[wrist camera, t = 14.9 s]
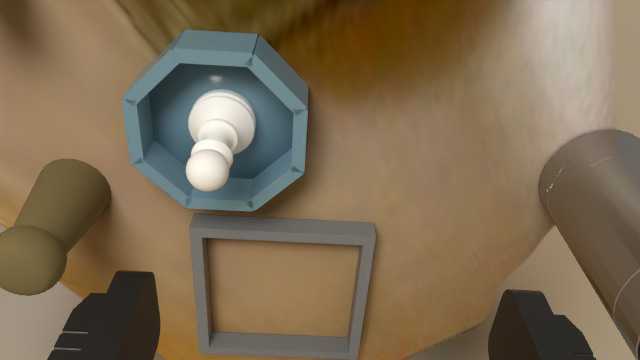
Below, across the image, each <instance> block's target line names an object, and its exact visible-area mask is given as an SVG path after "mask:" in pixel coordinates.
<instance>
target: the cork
mask: <svg viewBox="0 0 640 360" xmlns="http://www.w3.org/2000/svg"><path fill="white" fill-rule="evenodd" d="M110 199H111V191H110V186H109V184H108V182H107V180H106V179H105V177H104V176H103V175H102V174H101V173H100V172H99V171H98V170H97V169H95V168H94V167H92V166H91V165H89V164H87V163H85V162H81V161H78V160H75V159H60V160H56V161H53V162H51V163H49V164H48V165H46V166H45V167H44V169H43V170H42V171H41V173H40V175H39V177H38V179H37V181H36V182H35V184H34V186H33V188H32V190H31V192H30V194H29V196H28V198H27V200H26V202H25V204H24V206H23V208H22V210H21V212H20V214H19V216H18V218H17V220H16V222H15V224H14V226H13V227H10V228H9V229H7V230H5V231H4V232H2V233H1V234H0V287H1V288H3V289H5V290H7V291H9V292H11V293H15V294H19V295H29V296H30V295H36V294H40V293H42V292H45V291H47V290H48V289H50V288H52V287H53V286H54V285H55V284H56V283H57V282H58V281H59V279H60V278H61V277H62V275H63V273H64V271H65V267H66V262H67V255H66V254H67V253H68V252H69V251H70V250H71V248H72V247H73V246H74V245H75V244H76V243H77V241H78V240H79V239H80V238H81V237H82V236H83V234H84V233H85V232H86V231H87V230H88V229H89V227H90V226H91V225H92V224H93V223H94V222H95V220H96V219H97V218H98V217H99V216H100V215H101V213H102V212H103V211H104V210H105V209H106V207H107V206H108V205H109V203H110Z"/></svg>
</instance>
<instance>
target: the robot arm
mask: <svg viewBox="0 0 640 360" xmlns="http://www.w3.org/2000/svg"><path fill="white" fill-rule="evenodd" d="M539 194H540V197H541V200H542V203H543V204H544V206H545V208H546V209H547V211H548V213H549V214H550V216H551V218H552V219H553V221H554V223H555V224H556V226H557V228H558V230H559V231H560V233H561V235H562V236H563V238H564V240H565V241H566V243H567V244H568V246H569V248H570V250H571V251H572V253H573V255H574V256H575V258H576V260H577V261H578V263H579V265H580V266H581V268H582V270H583V271H584V273H585V275H586V276H587V278H588V280H589V282H590V283H591V285H592V286H593V288H594V290H595V292H596V293H597V295H598V296H599V298H600V300H601V301H602V303H603V305H604V307H605V308H606V310H607V312H608V313H609V315H610V317H611V318H612V320H613V322H614V323H615V325H616V327H617V328H618V330H619V331H620V333H621V335H622V336H623V338H624V339H625V341H626V343H627V345H628V346H629V348H630V350H631V351H632V353H633V355H634V356H635V358H636V360H640V139H639V138H638V137H636V136H634V135H633V134H631V133H628V132H624V131H621V130H601V131H594V132H591V133H588V134H584V135H582V136H580V137H578V138H576V139H573V140H571V141H570V142H569V143H567V144H566V145H564V146H563V147H561V148H560V149H559V150H558V151H557V152H556V153H555V154H554V155H553V156H552V157H551V159H550V160H549V161H548V163H547V164H546V165H545V168H544V170H543V172H542V174H541V178H540V182H539ZM159 335H160V314H159V306H158V299H157V291H156V284H155V277H154V274H153V272H142V271H120V270H119V271H117V272H116V274H115V276H114V278H113V280H112V282H111V284H110V286H109V289H108V291H107V293H91V294H89V295H88V296H87V297H86V298H85V299H84V300H83V301H82V302H81V303H80V304H79V305H78V306H76V307H75V308H74V309H73V311H72V312H71V314H70V316H69V318H68V320H67V322H66V324H65V326H64V328H63V333H62V334H60V336H59V338H58V340H57V342H56V344H55V346H54V350H53V351H52V352H51V354H50V356H49V357H48V359H47V360H153V359H154V356H155V353H156V349H157V346H158V341H159ZM488 352H489V359H490V360H596V358H594V357H593V352H592V350H591V349H590V347H589V345H588V343H587V341H586V339H585V337H584V335H583V334H582V332H581V331H580V330H579V329H578V328H576V326H575V325H574V324H573V323H572V322H571V321H570V320H569V319H568V318H567V317H566V316H565V315H554V314H553V312H552V311H551V308H550V306H549V304H548V302H547V300H546V298H545V296H544V294H543V293H542V292H540V291H530V290H506V291H505V292H504V293H503V295H502V298H501V301H500V305H499V307H498V311H497V314H496V317H495V319H494V323H493V325H492V329H491V331H490V334H489V341H488Z"/></svg>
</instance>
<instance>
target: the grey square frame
mask: <svg viewBox="0 0 640 360" xmlns="http://www.w3.org/2000/svg"><path fill="white" fill-rule="evenodd" d="M189 229H190V241H191V253H192V266H193V278H194V290H195V303H196V315H197V327H198V340H199V352H200V354H224V355H248V356H272V357H297V358H321V359H346V360H357V359H358V353H359V346H360V339H361V333H362V326H363V319H364V313H365V306H366V300H367V293H368V286H369V280H370V273H371V266H372V260H373V253H374V247H375V240H376V234H375V226H374V223H366V222H346V221H326V220H306V219H286V218H266V217H246V216H226V215H206V214H194V215H193V218H192V221H191V224H190V228H189ZM207 238H222V239H243V240H263V241H284V242H304V243H325V244H346V245H360V248H359V255H358V263H357V270H356V278H355V286H354V293H353V301H352V308H351V316H350V323H349V331H348V338H347V337H323V336H300V335H276V334H253V333H229V332H212V317H211V300H210V284H209V267H208V251H207Z"/></svg>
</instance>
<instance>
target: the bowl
mask: <svg viewBox="0 0 640 360" xmlns="http://www.w3.org/2000/svg"><path fill="white" fill-rule="evenodd" d="M218 89H224V90H231V91H233V92H236V93H239V94H240V95H241V96H243V97H244V98H246V99H247V100H248V102H249V103H250V104H251V105H252V107H253V109H254V111H255V115H256V129H255V134H254V137H253V139H252V142H251V143H250V144H249V145H248V147H247V148H246V149H244V150H243V151H241V152H240V153H237V154H234V155H233V163H232V165H231V167H230V168H229V176H228V179H227V181H226V182H225V184H224V185H223V186H222V187H220V188H219V189H217V190H214V191H208V192H207V191H201V190H198V189H197V188H195V187H194V186H193V185H192V184H190V182H189V180H188V179H187V175H186V165H187V162H188V160H189V158H190V157H191V151H192V148H193V147H194V145H195V144H196V142H195V141H194V140H193V138H192V136H191V134H190V131H189V127H188V118H189V115H190V113H191V110H192V108H193V106H194V104H195V102H196V101H197V100H198V98H199V97H201V96H202V95H203V94H205V93H207V92H209V91H212V90H218ZM308 95H309V87H308V85H307V84H306V83H305V82H304V81H303V80H302V78H301V77H300V76H299V75H298V74H297V73H296V72H295V71H294V70H293V69H292V68H291V67H290V66H289V65H288V64H287V63H286V62H285V61H284V60H283V59H282V58H281V56H280V55H279V54H278V53H277V52H276V51H275V50H274V49H273V48H272V47H271V46H270V45H269V44H268V43H267V42H266V41H265V40H264V39H263V38H262V37H261V36H259V37H258V34H248V33H232V32H216V31H200V30H185V31H182V32H181V33H180V34H179V35H178V36H177V37H176V38H175V39H174V40H173V41H172V42H171V43H170V44H169V45H168V46H167V47H166V48H165V49H164V50H163V51H162V52H161V53H160V54H159V55H158V56H157V57H156V58H155V59H154V60H153V61H152V62H151V63H150V64H149V65H148V66H147V67H146V68H145V69H144V70H143V71H142V72H141V73H140V74H139V75H138V76H137V78H136V79H135V80H134V82H133V83H132V84H131V86H130V87H129V88H128V90H127V91H126V93H125V94H124V95H123V97H122V99H121V100H122V107H123V114H124V121H125V128H126V135H127V142H128V149H129V156H130V163H133V164H132V166H133V167H135V168H136V169H137V170H138V171H140V172H141V173H142V174H143V175H145V176H146V177H147V178H148V179H150V180H151V181H152V182H153V183H155V184H156V185H157V186H158V187H160V188H161V189H162V190H163V191H165V192H166V193H167V194H168V195H170V196H171V197H172V198H173V199H175V200H176V201H177V202H178V203H180V204H181V205H182V206H183V207H187V208H191V209H210V210H230V211H250V212H253V210H254V211H256V210H257V209H258V208H259V207H261V206H262V205H263V204H265V203H266V202H267V201H269V200H270V199H271V198H273V197H274V196H275V195H277V194H278V193H279V192H281V191H282V190H283V189H285V188H286V187H287V186H288V185H290V184H291V183H292V182H294V181H295V180H296V179H298V178H299V177H300V176H302V175H303V172H304V170H305V153H306V135H307V118H308Z"/></svg>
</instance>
